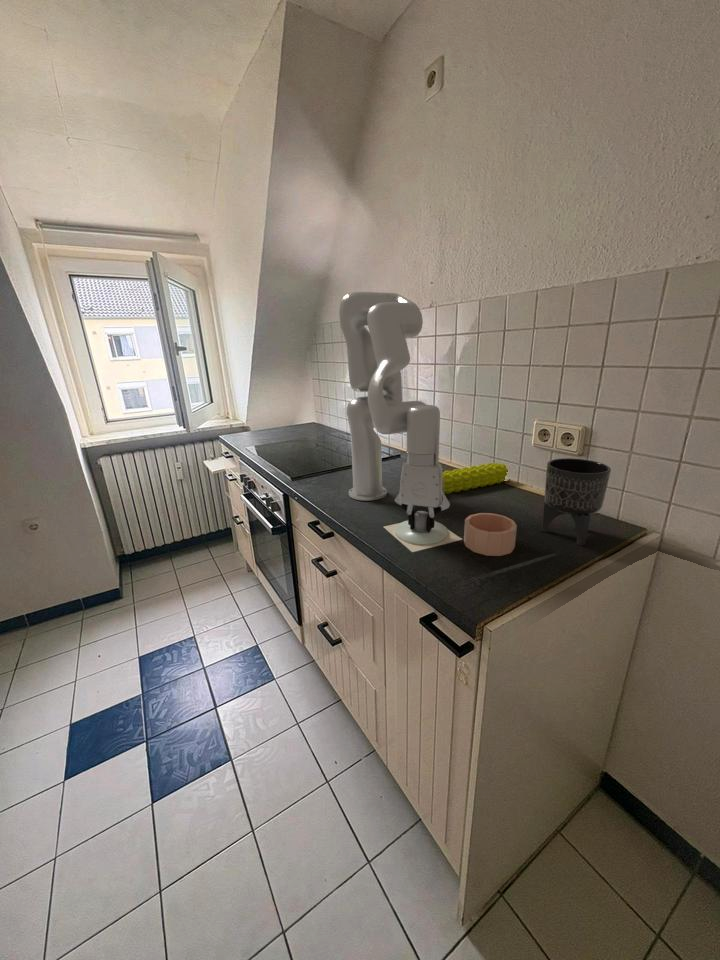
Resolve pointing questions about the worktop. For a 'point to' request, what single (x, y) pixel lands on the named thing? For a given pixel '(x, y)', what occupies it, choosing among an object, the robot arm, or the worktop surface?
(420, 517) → the lid
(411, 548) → the mat
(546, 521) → the planter
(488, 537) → the bowl
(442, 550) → the worktop surface
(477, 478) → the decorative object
